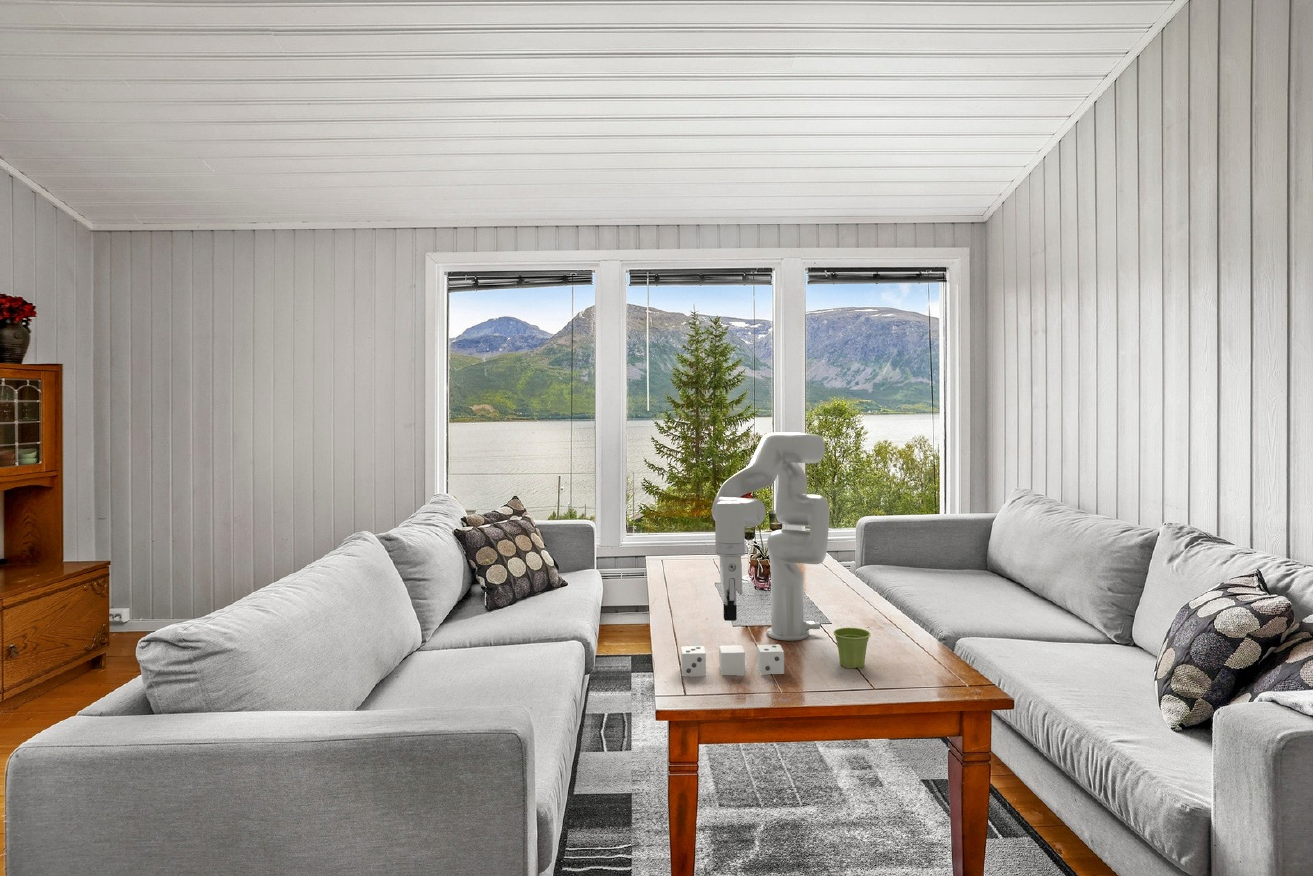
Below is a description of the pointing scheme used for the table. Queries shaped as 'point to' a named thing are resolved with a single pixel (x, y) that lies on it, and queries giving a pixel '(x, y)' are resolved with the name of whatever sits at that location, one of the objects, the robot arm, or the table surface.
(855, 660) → the plant pot
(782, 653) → the two dot block
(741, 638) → the table surface
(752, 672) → the table surface
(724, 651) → the plain block
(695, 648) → the three dot block
